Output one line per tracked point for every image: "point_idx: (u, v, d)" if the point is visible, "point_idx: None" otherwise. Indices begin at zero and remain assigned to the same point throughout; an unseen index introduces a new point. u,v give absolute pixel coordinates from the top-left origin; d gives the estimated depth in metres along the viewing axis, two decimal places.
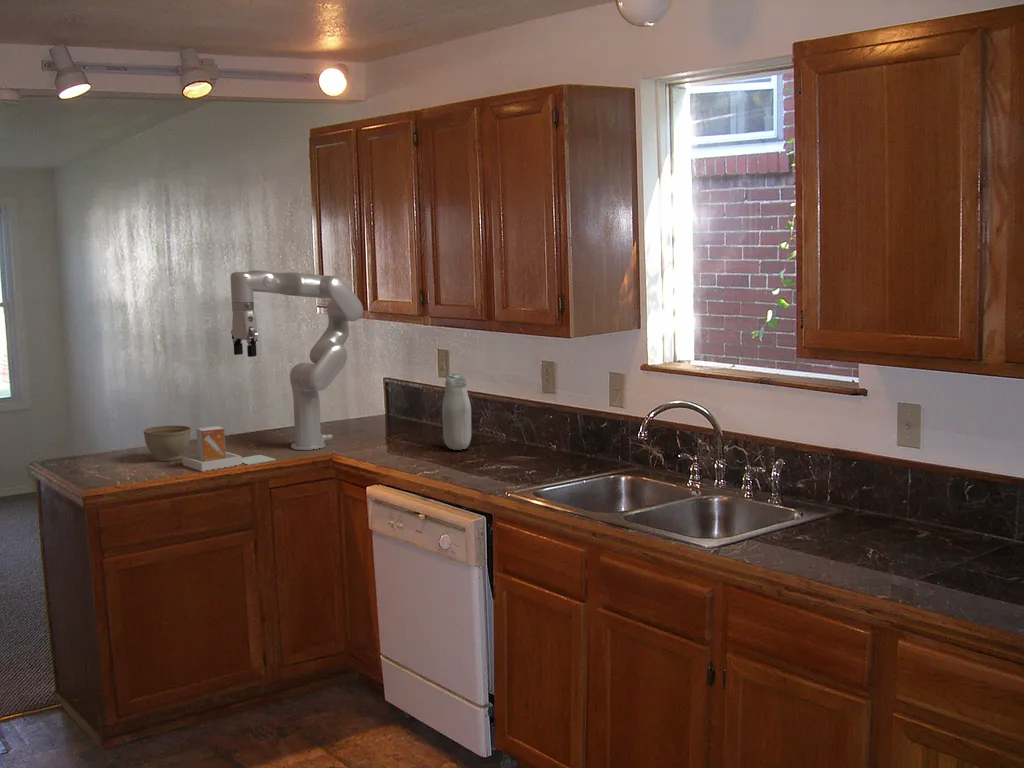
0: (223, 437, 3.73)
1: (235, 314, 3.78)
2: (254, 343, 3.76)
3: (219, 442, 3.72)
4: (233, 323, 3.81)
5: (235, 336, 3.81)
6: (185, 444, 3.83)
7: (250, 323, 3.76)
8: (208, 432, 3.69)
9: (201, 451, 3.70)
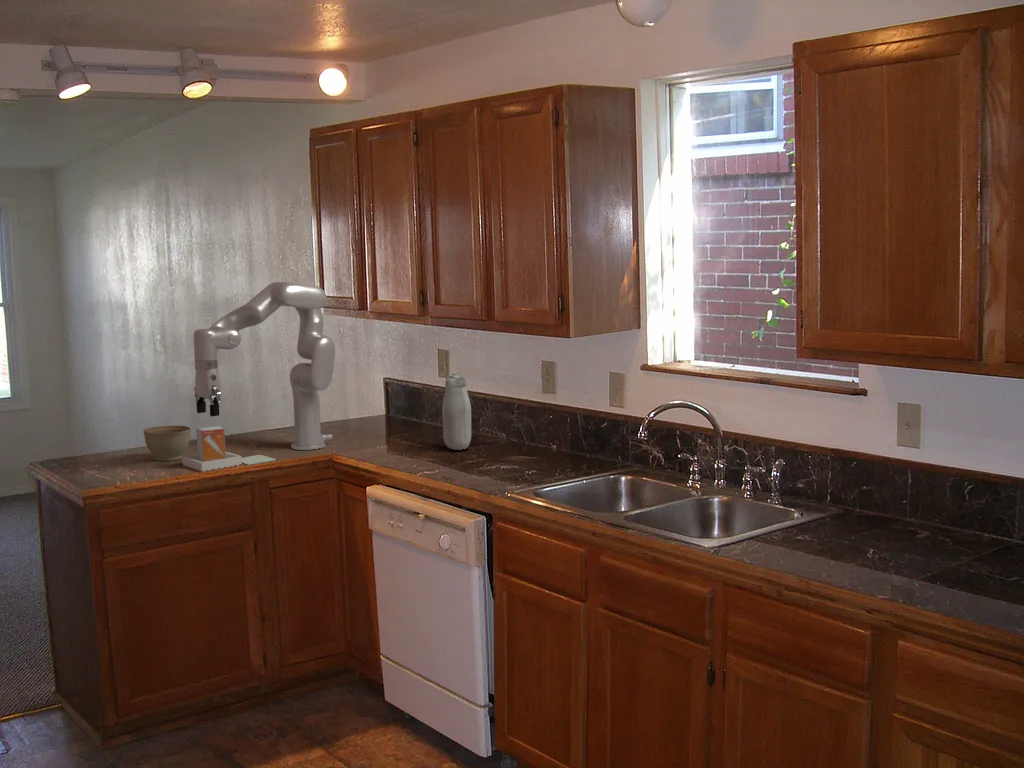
0: (223, 437, 3.73)
1: (198, 372, 3.69)
2: (217, 402, 3.67)
3: (219, 442, 3.72)
4: (196, 381, 3.71)
5: (198, 394, 3.71)
6: (185, 444, 3.83)
7: (213, 382, 3.67)
8: (208, 432, 3.69)
9: (201, 451, 3.70)
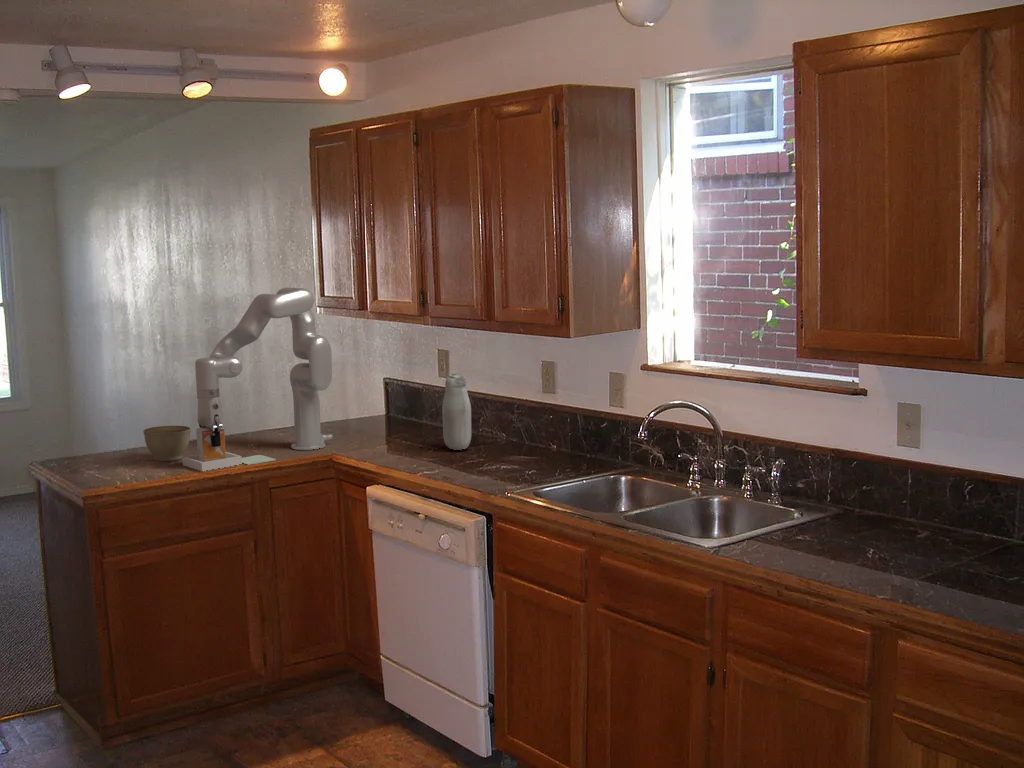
0: (223, 437, 3.73)
1: (200, 401, 3.70)
2: (218, 433, 3.69)
3: None
4: (198, 410, 3.73)
5: (200, 423, 3.73)
6: (185, 444, 3.83)
7: (215, 411, 3.68)
8: (208, 432, 3.69)
9: (201, 451, 3.70)
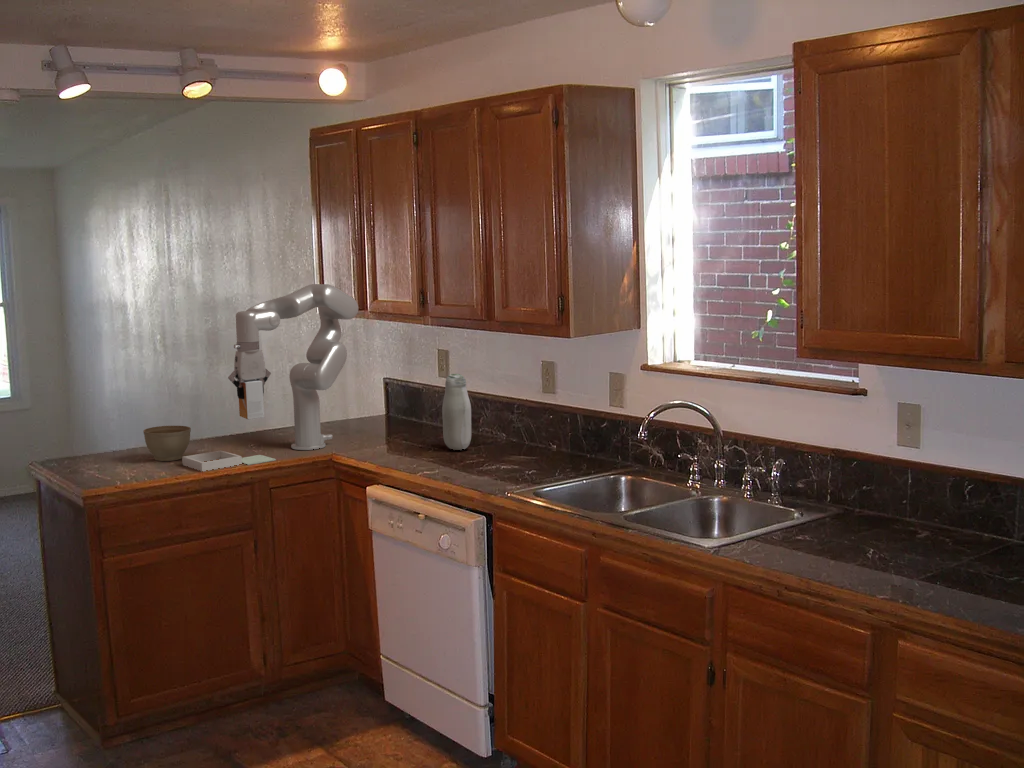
0: (245, 391, 3.73)
1: None
2: (236, 385, 3.73)
3: (244, 395, 3.74)
4: None
5: None
6: (185, 444, 3.83)
7: (236, 363, 3.73)
8: None
9: None
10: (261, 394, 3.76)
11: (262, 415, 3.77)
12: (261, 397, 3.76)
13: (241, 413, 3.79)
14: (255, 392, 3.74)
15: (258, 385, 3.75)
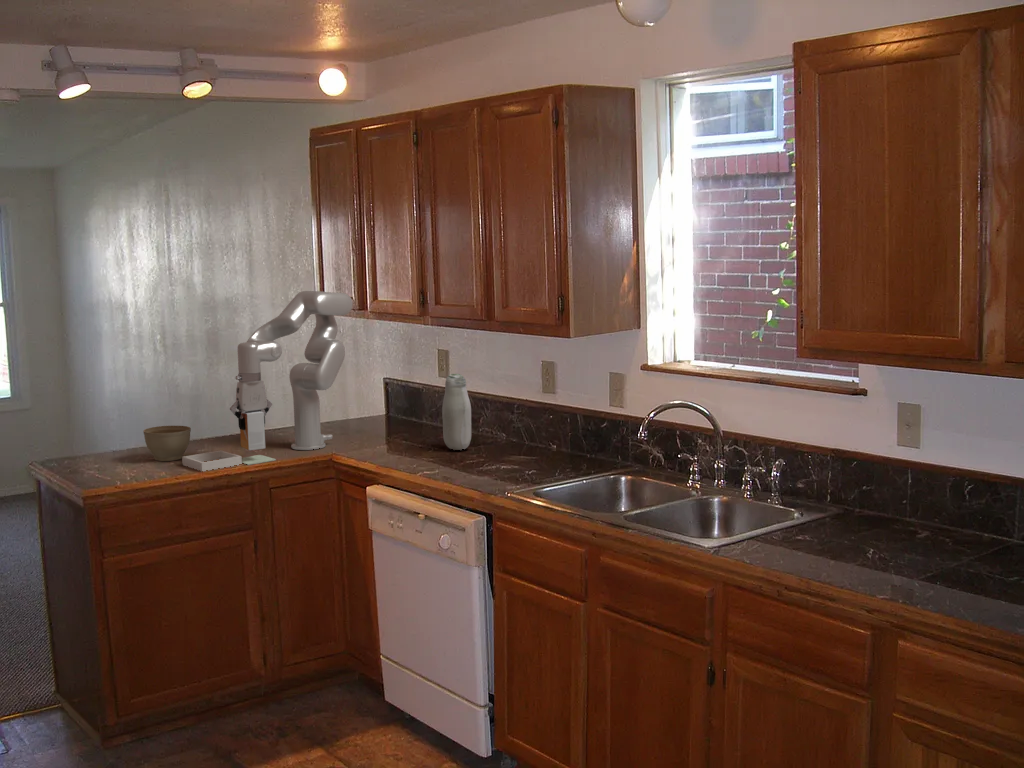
0: (246, 422, 3.74)
1: None
2: (238, 416, 3.75)
3: (245, 426, 3.76)
4: None
5: None
6: (185, 444, 3.83)
7: (237, 394, 3.74)
8: None
9: None
10: (262, 425, 3.77)
11: (263, 446, 3.78)
12: (262, 428, 3.77)
13: (242, 444, 3.80)
14: (256, 423, 3.76)
15: (259, 416, 3.76)
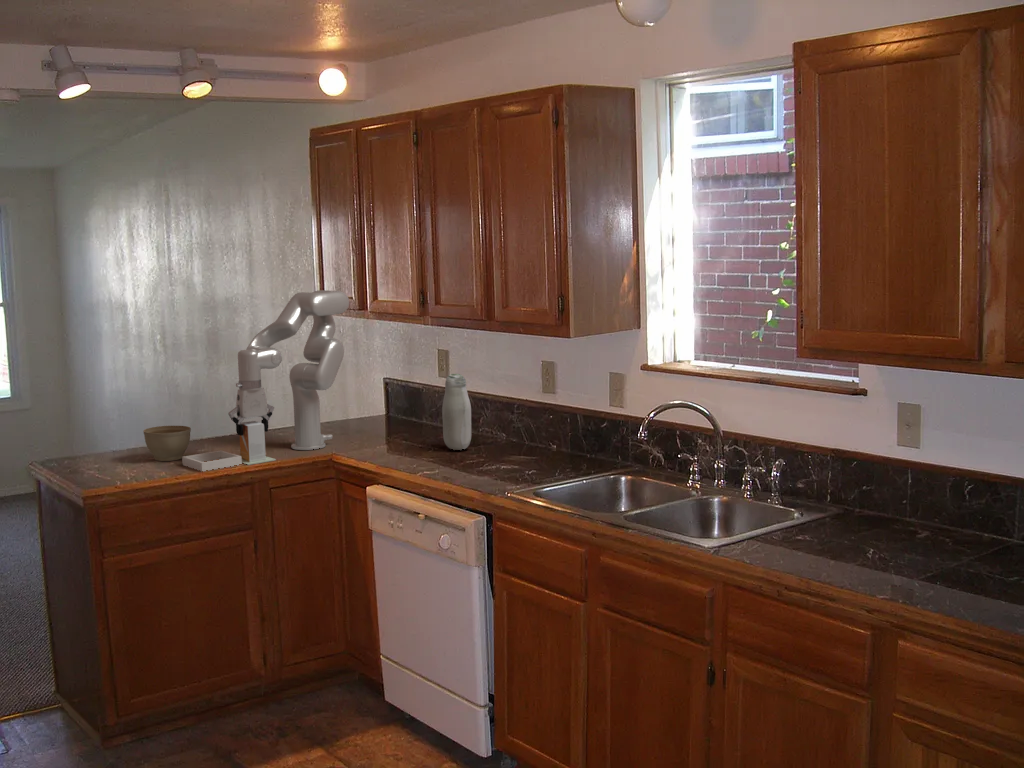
0: (247, 434, 3.75)
1: None
2: (235, 422, 3.74)
3: (245, 438, 3.76)
4: None
5: None
6: (185, 444, 3.83)
7: (238, 402, 3.75)
8: None
9: None
10: (263, 437, 3.78)
11: (264, 457, 3.79)
12: (262, 439, 3.78)
13: (242, 455, 3.80)
14: (257, 435, 3.76)
15: (260, 428, 3.77)
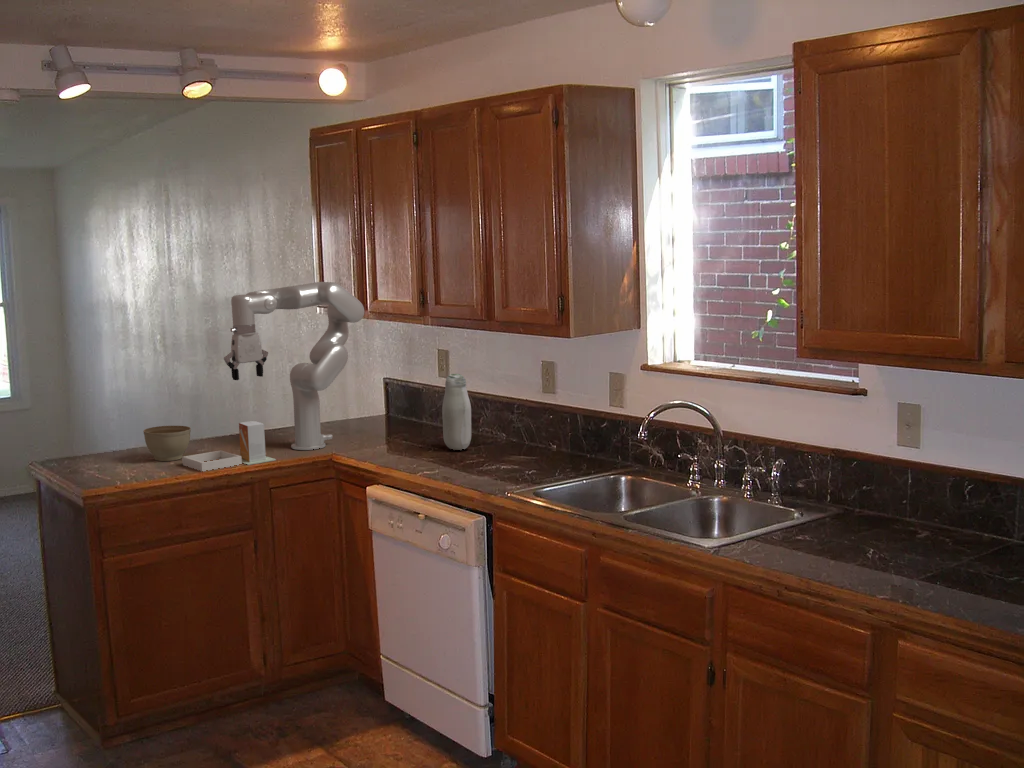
0: (247, 434, 3.75)
1: None
2: (231, 367, 3.76)
3: (245, 438, 3.76)
4: None
5: None
6: (185, 444, 3.83)
7: (233, 347, 3.76)
8: (240, 425, 3.79)
9: None
10: (263, 437, 3.78)
11: (264, 457, 3.79)
12: (262, 439, 3.78)
13: (242, 455, 3.80)
14: (257, 435, 3.76)
15: (260, 428, 3.77)
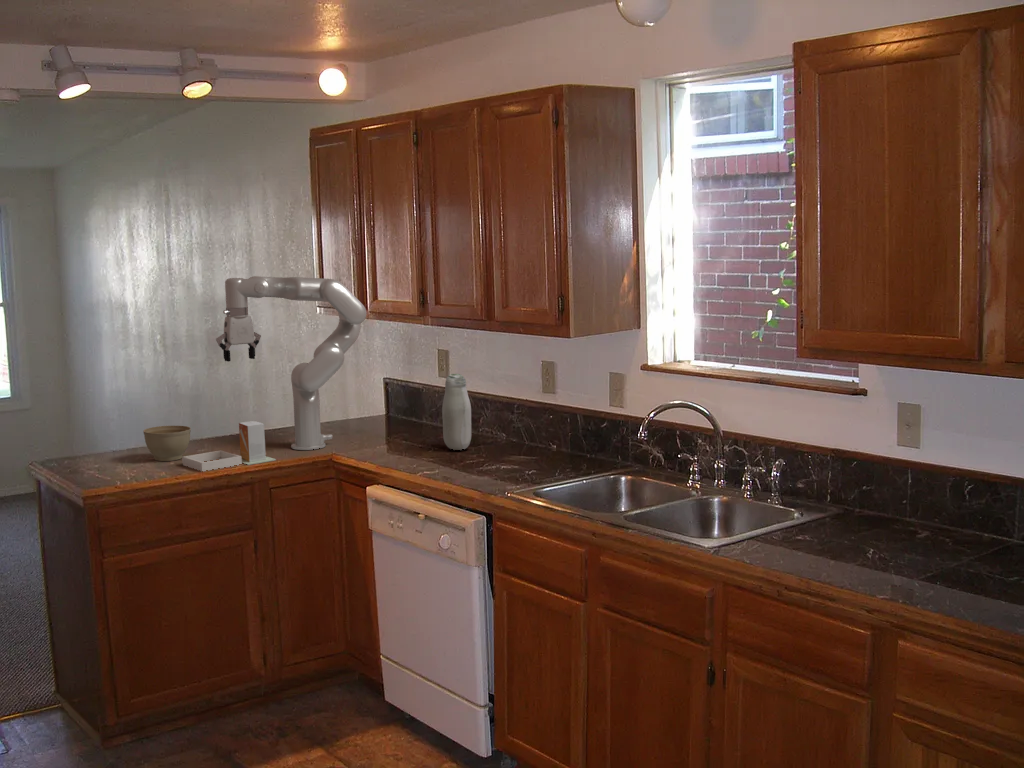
0: (247, 434, 3.75)
1: None
2: (223, 348, 3.84)
3: (245, 438, 3.76)
4: None
5: None
6: (185, 444, 3.83)
7: (225, 328, 3.84)
8: (240, 425, 3.79)
9: None
10: (263, 437, 3.78)
11: (264, 457, 3.79)
12: (262, 439, 3.78)
13: (242, 455, 3.80)
14: (257, 435, 3.76)
15: (260, 428, 3.77)
